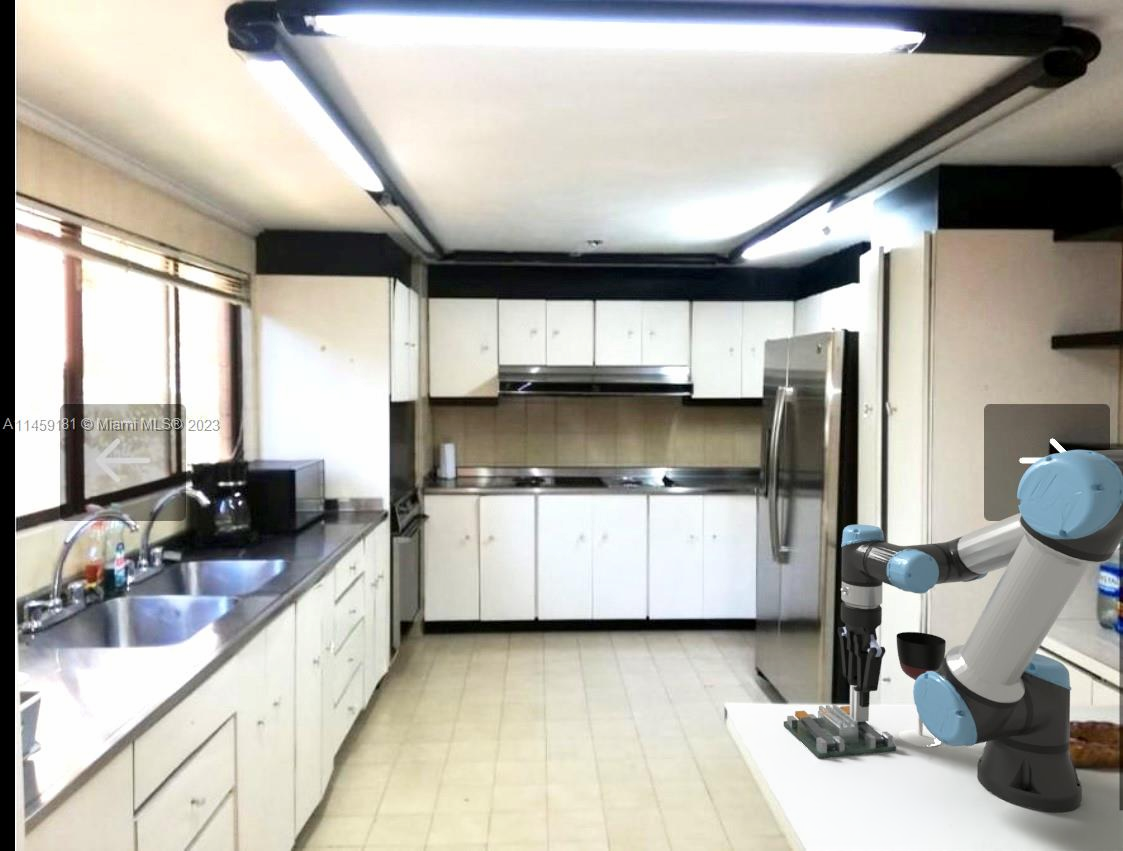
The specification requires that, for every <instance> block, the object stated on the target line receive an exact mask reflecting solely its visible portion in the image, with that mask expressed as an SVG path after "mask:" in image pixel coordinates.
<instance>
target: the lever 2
mask: <svg viewBox="0 0 1123 851" xmlns="http://www.w3.org/2000/svg"><path fill="white" fill-rule="evenodd" d="M839 708H841V709H842V710H843V711H845V712H846V713H847V714H848V715H850V705H845V706H844V705H842V706H840V707H839ZM857 726H858V729H859V730H860V731H861V732H862V733H863V734H864V735H865V733H870V734H871V735H873V736H874V737H875V738H876V744H883V741H884V738H882V737H881V736H880V735H879V734H880V733H879V732H878V731H877V730H876V729H874V728H873V727H872V726H871V725H870V723H868V721H862V722H857ZM876 731H877V732H878V733H879V734H878V733H877V732H876Z"/></svg>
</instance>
